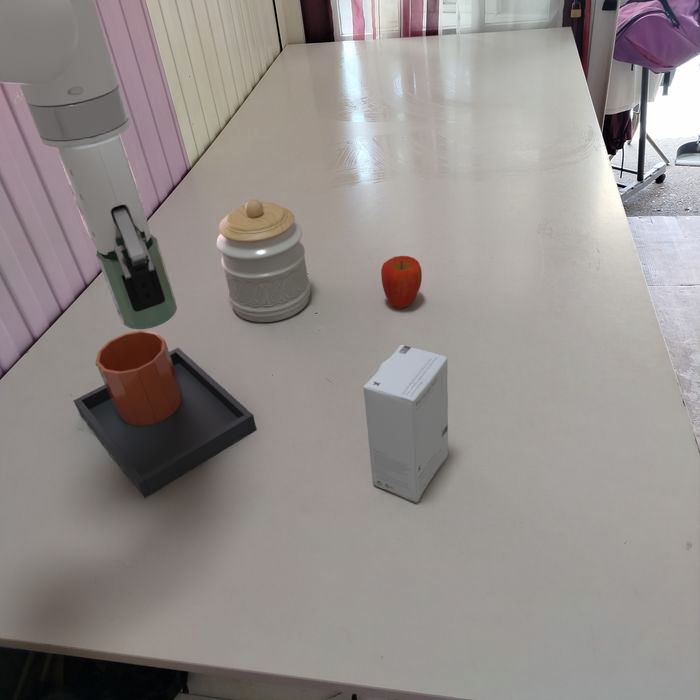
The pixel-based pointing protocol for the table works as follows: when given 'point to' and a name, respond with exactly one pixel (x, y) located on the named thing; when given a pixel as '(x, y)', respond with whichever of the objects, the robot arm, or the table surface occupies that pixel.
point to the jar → (264, 262)
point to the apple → (401, 280)
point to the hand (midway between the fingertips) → (140, 289)
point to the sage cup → (120, 297)
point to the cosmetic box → (407, 420)
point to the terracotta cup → (140, 377)
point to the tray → (169, 428)
